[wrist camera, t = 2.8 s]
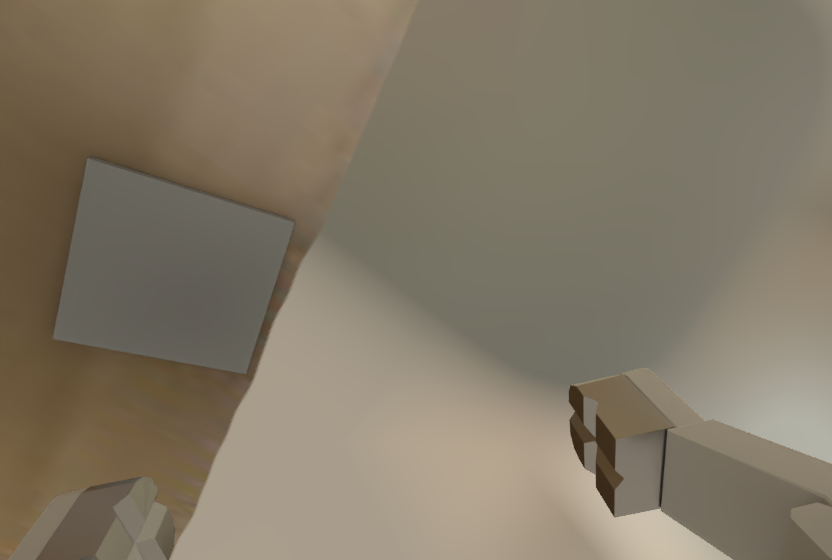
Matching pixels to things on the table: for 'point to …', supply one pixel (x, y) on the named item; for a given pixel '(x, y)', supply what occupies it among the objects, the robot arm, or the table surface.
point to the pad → (168, 270)
